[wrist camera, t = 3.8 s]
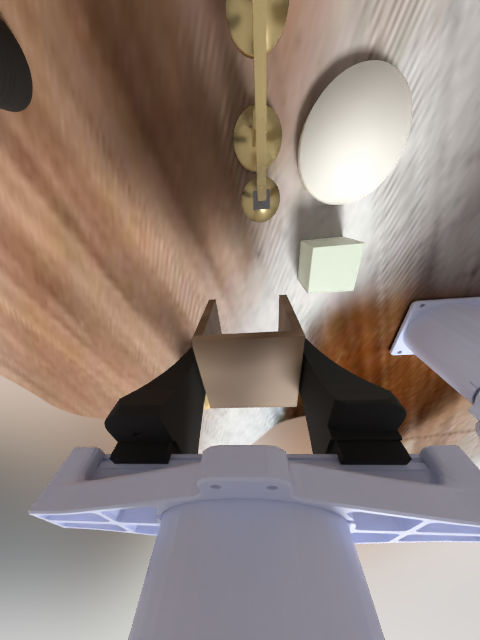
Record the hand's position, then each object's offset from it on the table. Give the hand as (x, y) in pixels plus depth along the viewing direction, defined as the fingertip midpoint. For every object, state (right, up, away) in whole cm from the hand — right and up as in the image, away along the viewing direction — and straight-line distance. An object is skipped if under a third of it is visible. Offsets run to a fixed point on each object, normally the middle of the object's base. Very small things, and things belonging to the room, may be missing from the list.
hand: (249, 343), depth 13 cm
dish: (+8, +15, +1) cm, 17 cm away
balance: (+1, +16, +1) cm, 16 cm away
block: (+7, +8, +5) cm, 12 cm away
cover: (0, +1, +1) cm, 2 cm away
